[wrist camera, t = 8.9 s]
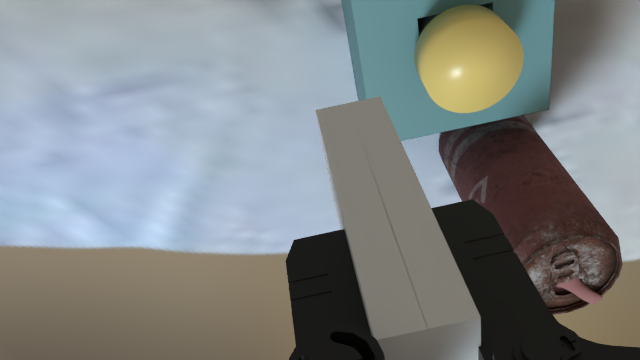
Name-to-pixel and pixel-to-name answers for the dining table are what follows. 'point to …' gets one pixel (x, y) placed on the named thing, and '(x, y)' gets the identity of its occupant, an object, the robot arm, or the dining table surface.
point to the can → (535, 209)
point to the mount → (400, 73)
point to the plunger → (467, 58)
